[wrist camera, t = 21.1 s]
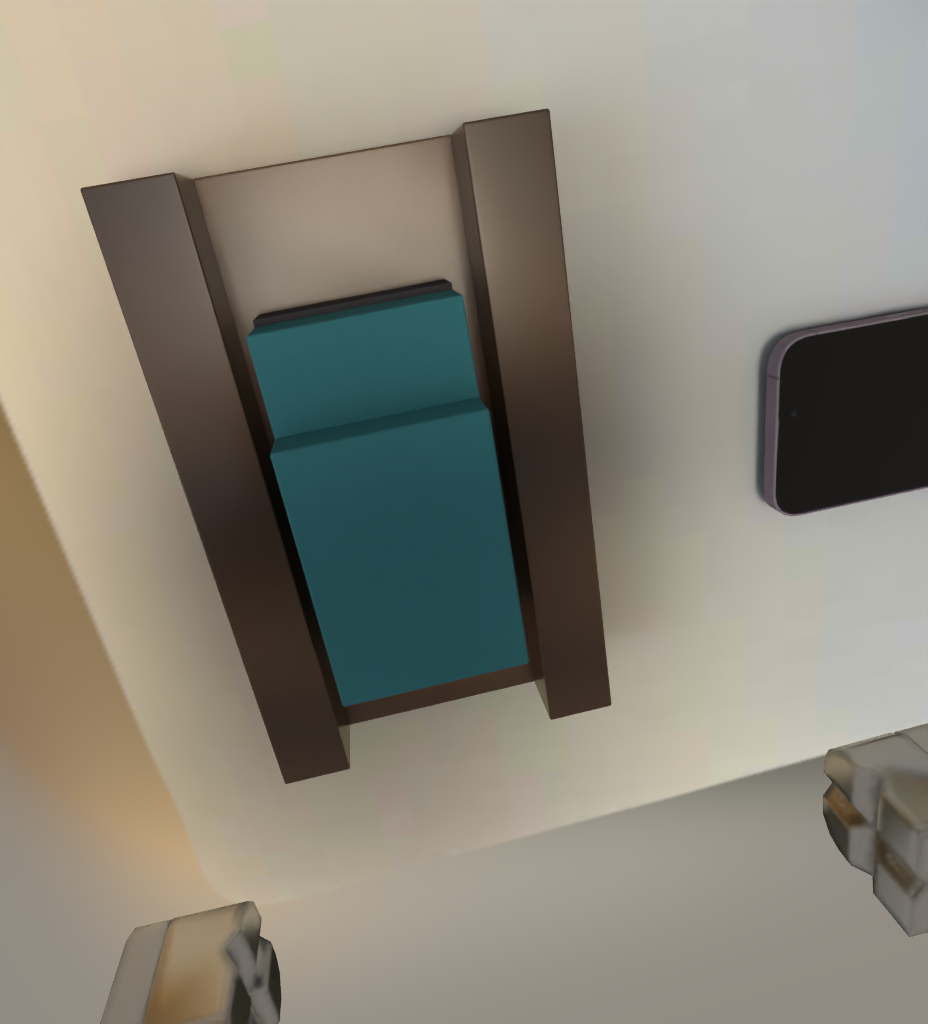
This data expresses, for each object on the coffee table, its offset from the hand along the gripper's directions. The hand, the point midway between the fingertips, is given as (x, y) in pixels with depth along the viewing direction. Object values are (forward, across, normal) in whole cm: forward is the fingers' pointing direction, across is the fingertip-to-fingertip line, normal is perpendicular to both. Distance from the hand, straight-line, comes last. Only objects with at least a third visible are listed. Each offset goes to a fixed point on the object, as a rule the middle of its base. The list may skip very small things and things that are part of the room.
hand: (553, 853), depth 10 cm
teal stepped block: (+16, +1, -1) cm, 16 cm away
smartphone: (+18, -21, +2) cm, 28 cm away
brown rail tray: (+18, +1, -1) cm, 18 cm away
